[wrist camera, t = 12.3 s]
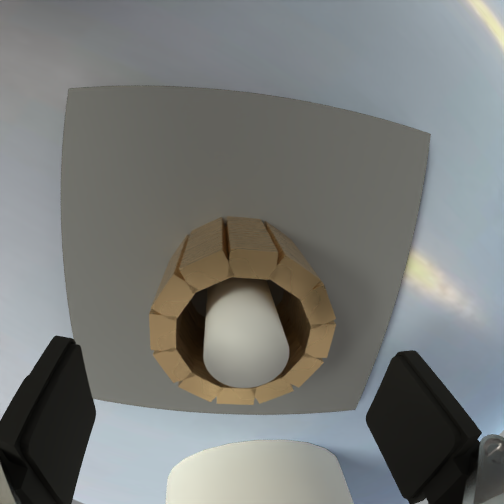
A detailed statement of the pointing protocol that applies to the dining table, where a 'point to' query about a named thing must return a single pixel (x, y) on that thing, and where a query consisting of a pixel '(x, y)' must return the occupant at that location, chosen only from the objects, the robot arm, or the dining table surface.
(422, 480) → the robot arm
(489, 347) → the dining table surface
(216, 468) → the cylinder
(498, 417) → the dining table surface
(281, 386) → the wooden stave ring
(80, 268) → the stand
